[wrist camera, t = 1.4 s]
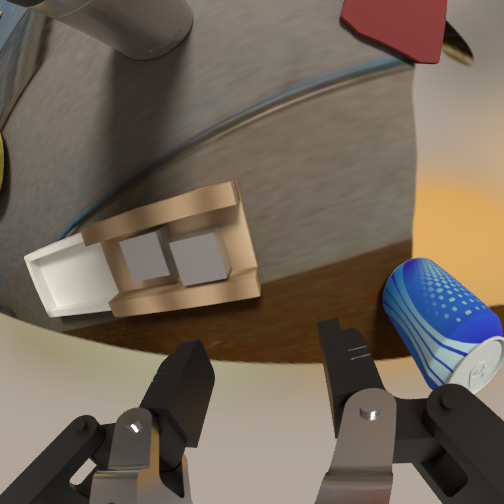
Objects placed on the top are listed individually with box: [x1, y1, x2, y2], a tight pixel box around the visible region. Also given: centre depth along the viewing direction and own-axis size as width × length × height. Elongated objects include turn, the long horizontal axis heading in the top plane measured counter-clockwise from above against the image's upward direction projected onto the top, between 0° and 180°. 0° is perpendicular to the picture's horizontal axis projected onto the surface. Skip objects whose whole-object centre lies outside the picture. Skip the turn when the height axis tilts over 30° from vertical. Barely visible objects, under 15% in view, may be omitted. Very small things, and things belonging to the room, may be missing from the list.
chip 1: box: [119, 224, 177, 282], centre depth 27 cm, size 4×4×3 cm
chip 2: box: [169, 225, 232, 286], centre depth 27 cm, size 4×4×3 cm
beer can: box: [383, 258, 504, 394], centre depth 21 cm, size 8×8×16 cm
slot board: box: [80, 179, 262, 317], centre depth 28 cm, size 18×11×4 cm, turn 104°
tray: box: [24, 232, 119, 317], centre depth 31 cm, size 15×10×3 cm, turn 104°
